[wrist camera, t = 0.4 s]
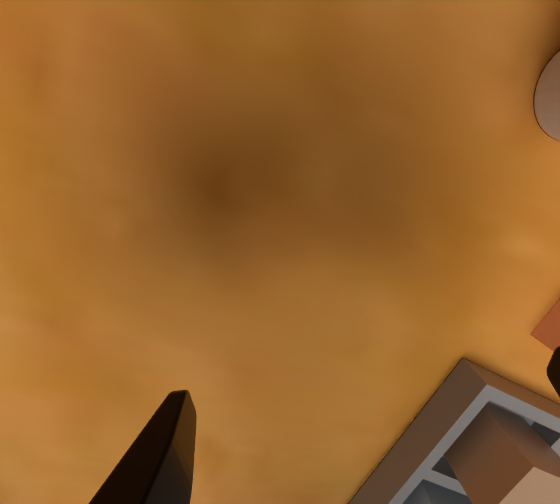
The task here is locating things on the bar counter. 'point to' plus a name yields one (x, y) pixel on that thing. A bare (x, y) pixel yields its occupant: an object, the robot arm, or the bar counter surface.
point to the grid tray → (449, 428)
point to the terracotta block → (549, 328)
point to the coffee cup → (549, 98)
